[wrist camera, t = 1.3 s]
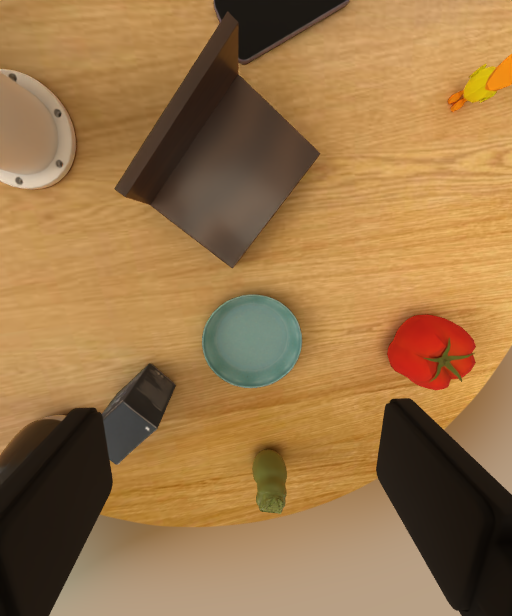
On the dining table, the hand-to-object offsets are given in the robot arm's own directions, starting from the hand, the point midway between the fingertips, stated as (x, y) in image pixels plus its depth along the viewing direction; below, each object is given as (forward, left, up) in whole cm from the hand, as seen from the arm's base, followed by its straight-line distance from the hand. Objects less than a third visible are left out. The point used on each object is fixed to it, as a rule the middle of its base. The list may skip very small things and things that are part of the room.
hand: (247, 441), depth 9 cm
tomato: (+28, +9, -33) cm, 44 cm away
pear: (+23, -22, -33) cm, 46 cm away
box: (-1, -23, -33) cm, 40 cm away
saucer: (+7, -6, -33) cm, 34 cm away
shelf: (-9, +10, -33) cm, 35 cm away
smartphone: (-16, +29, -33) cm, 47 cm away
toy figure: (+8, +36, -33) cm, 49 cm away
